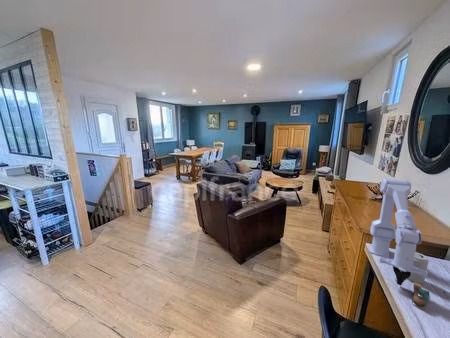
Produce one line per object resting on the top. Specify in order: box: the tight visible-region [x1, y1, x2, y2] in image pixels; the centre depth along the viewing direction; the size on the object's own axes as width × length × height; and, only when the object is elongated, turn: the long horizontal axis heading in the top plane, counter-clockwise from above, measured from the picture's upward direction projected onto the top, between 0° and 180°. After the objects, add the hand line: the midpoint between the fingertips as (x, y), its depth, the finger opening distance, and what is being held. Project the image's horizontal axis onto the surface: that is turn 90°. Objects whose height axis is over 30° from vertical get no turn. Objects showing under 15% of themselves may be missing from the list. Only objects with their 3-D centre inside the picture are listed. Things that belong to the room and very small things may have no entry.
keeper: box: [419, 288, 430, 304], centre depth 72 cm, size 1×3×4 cm, turn 48°
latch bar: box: [412, 282, 427, 308], centre depth 74 cm, size 12×3×3 cm, turn 138°
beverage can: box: [406, 251, 429, 284], centre depth 83 cm, size 6×6×12 cm
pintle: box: [411, 294, 426, 310], centre depth 71 cm, size 4×4×4 cm
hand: (398, 283), depth 79 cm, fingers closed
